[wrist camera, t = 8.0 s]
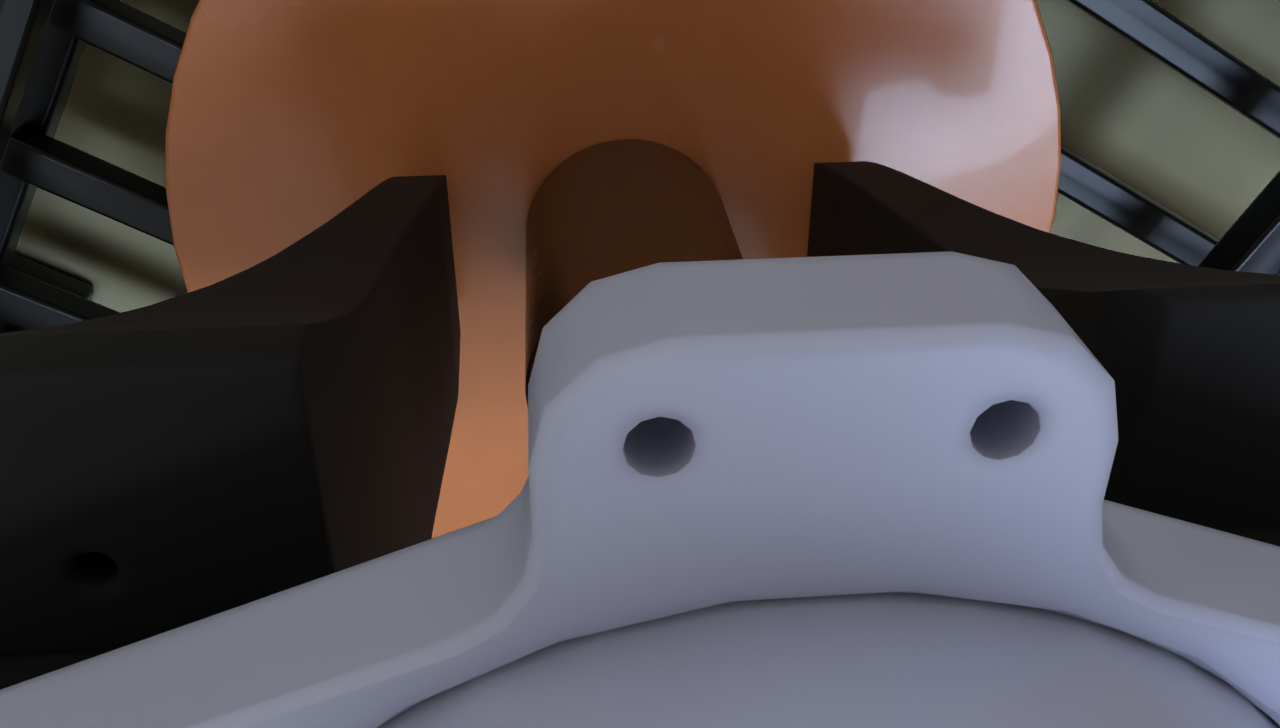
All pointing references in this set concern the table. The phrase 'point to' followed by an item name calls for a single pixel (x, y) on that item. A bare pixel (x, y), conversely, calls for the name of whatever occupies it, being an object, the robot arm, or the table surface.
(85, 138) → the table surface
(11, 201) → the dish rack
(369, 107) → the lid
